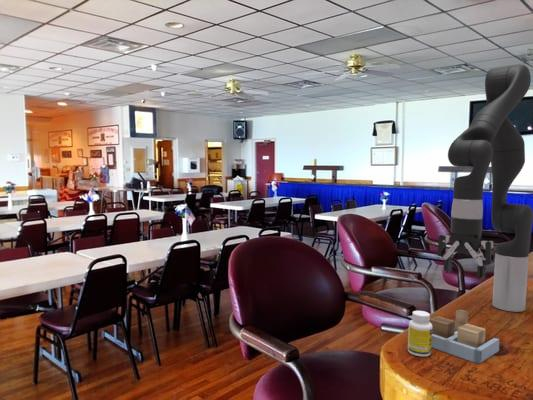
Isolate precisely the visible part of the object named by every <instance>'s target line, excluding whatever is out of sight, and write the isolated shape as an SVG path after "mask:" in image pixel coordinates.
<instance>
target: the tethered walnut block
mask: <svg viewBox="0 0 533 400" xmlns="http://www.w3.org/2000/svg"><path fill="white" fill-rule="evenodd" d="M468 315H469V311H467V310H465V309H456V310H455V318H454V320H453V319H449V318H446V317H443V316H439V315H438V316H434V317H433V318H430V320H429V322H430V323H431V324H432V334H434V335H437V336H440V337H443V338H449V337H451V336H453V335H455V334H457V333H458V328H459V327H461V326H463V325H465V324H468V321H469V318H468V317H469V316H468Z"/></svg>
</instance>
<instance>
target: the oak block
mask: <svg viewBox="0 0 533 400" xmlns="http://www.w3.org/2000/svg"><path fill="white" fill-rule="evenodd" d="M486 331H487V329H486V328H484V327H481V326H476V325H473V324H469V323H467V324H465V325H463V326H461V327H459V328H458V337H457V342H459V343H462V344H465V345H468V346H471V347H474V348H478V347H480V346H481V345H483V344H485V343H486Z"/></svg>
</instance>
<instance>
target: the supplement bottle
mask: <svg viewBox="0 0 533 400" xmlns="http://www.w3.org/2000/svg"><path fill="white" fill-rule="evenodd" d="M411 316H412V319H411V320H409V323H408V334H407V335H408V336H407V337H408V338H407V351H408V352H409V353H410V354H411V355H413V356H416V357H421V358H422V357H423V358H424V357H425V358H426V357H429V356H430V355H431V354H432V347H431V346H432V324H431V323H430V319H431V313H429V312H427V311H425V310H413V311H412V315H411Z"/></svg>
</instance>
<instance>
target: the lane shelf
mask: <svg viewBox="0 0 533 400" xmlns="http://www.w3.org/2000/svg"><path fill="white" fill-rule="evenodd" d="M457 337H458V333H457V334H455V335H453V336H451V337H449V338H443V337H440V336H437V335H434V334H432V346H431V349H435V350H439V351H440V352H443V353H446V354H449V355H451V356H455V357H458V358H460V359H464V360H466V361H469V362H472V363H475V364H477V365H479V364H481V363H483V362H485V361H486V360H488V359H489V358H490V357H492V356H493V355H495V354H497V353H498V352H499V351H500V338H496V337H493V338H492V339H490V340H488V341H487V342H486V341H485V344H483V345H481V346H480V347H478V348H474V347H471V346H468V345H465V344H462V343H459V342H457Z"/></svg>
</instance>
